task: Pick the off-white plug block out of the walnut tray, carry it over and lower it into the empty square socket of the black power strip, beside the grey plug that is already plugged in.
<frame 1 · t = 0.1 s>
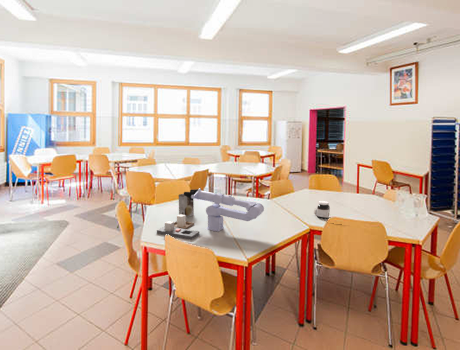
hand: (187, 192, 193), 22 cm above the table, tool horizontal, fingers open, 7 cm apart
white plug: (181, 226, 192), point 1 cm above the table, touching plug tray
coffee box: (186, 216, 216), on the table
power strip: (178, 234, 178), on the table
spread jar: (320, 217, 218), on the table
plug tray: (181, 226, 192), on the table
seated plug: (169, 233, 180), resting in power strip
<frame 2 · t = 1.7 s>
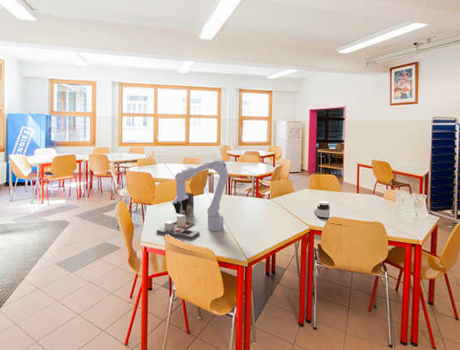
hand: (181, 211, 190), 10 cm above the table, tool pointing down, fingers open, 7 cm apart
nothing on the table moved.
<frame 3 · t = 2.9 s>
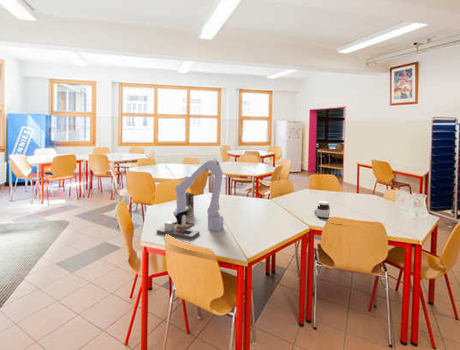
hand: (181, 223, 192), 3 cm above the table, tool pointing down, fingers closed on white plug, 4 cm apart
white plug: (181, 226, 192), point 1 cm above the table, touching gripper, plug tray
everything else where it was.
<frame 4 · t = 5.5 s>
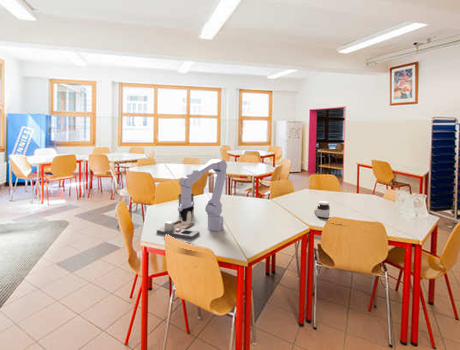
hand: (186, 220, 174), 10 cm above the table, tool pointing down, fingers closed on white plug, 4 cm apart
white plug: (186, 223, 174), point 8 cm above the table, touching gripper
everything else where it was.
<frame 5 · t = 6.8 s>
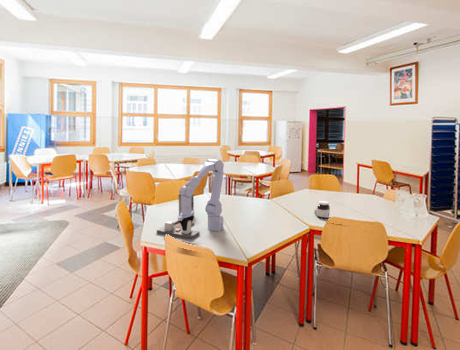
hand: (186, 229, 175), 4 cm above the table, tool pointing down, fingers closed on white plug, 4 cm apart
white plug: (186, 232, 175), point 2 cm above the table, touching gripper
everything else where it was.
when the fingers open (4 cm above the table, at t = 7.9 s): white plug drops 2 cm, resting in power strip.
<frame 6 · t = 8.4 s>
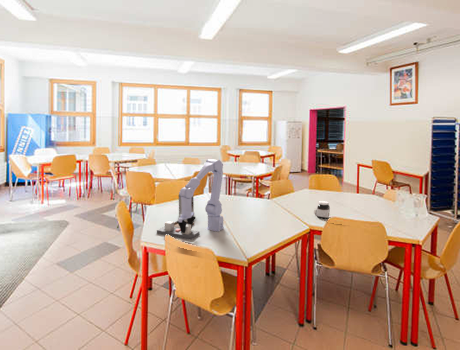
hand: (186, 230, 175), 4 cm above the table, tool pointing down, fingers open, 7 cm apart
white plug: (186, 236, 176), resting in power strip
everything else where it was.
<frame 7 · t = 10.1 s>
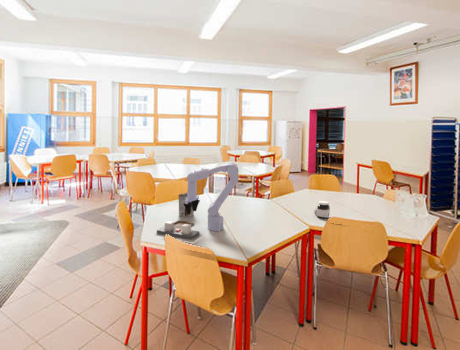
hand: (191, 212, 189), 10 cm above the table, tool pointing down, fingers open, 7 cm apart
nothing on the table moved.
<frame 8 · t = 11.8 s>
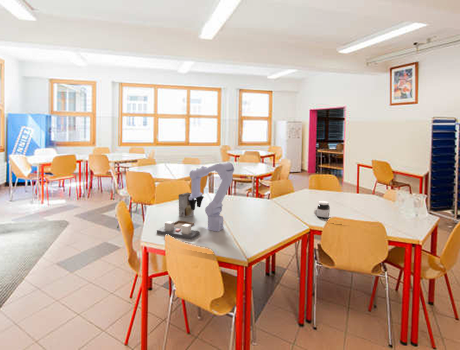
hand: (195, 208, 197), 10 cm above the table, tool pointing down, fingers open, 7 cm apart
nothing on the table moved.
at the end: white plug 0.1 cm from the target spot on the power strip, point 0.0 cm above the power strip's base; white plug tilted 0°; the gripper is holding nothing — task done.
